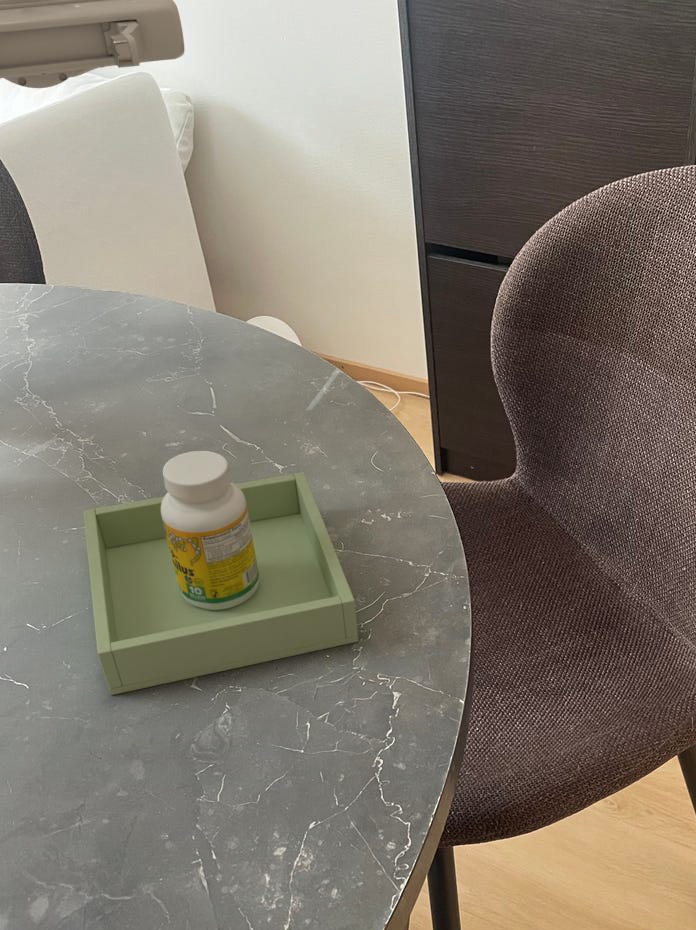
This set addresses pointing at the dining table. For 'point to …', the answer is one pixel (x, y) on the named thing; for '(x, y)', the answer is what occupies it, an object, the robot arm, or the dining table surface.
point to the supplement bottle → (208, 531)
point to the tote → (214, 631)
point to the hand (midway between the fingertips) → (58, 61)
